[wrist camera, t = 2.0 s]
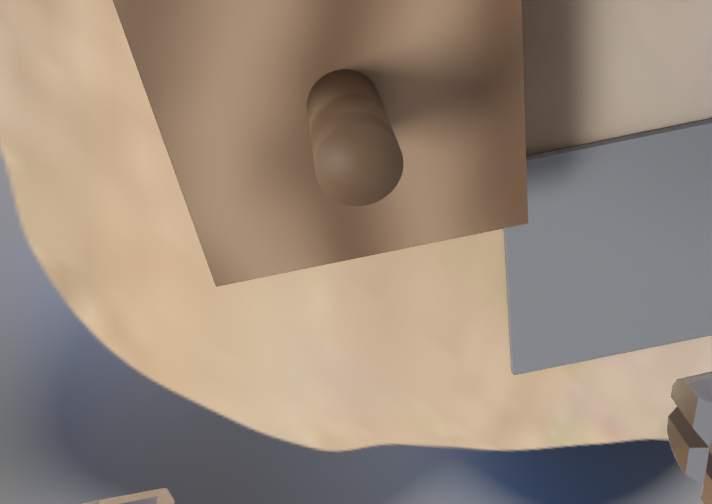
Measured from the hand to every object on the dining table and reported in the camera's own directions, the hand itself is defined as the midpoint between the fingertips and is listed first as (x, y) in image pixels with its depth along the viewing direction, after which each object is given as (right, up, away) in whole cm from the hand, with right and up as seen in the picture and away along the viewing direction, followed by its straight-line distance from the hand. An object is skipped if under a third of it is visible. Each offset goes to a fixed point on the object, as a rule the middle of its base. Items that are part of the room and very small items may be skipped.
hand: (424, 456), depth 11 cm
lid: (-2, +9, +14) cm, 16 cm away
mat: (+13, +3, +23) cm, 26 cm away
